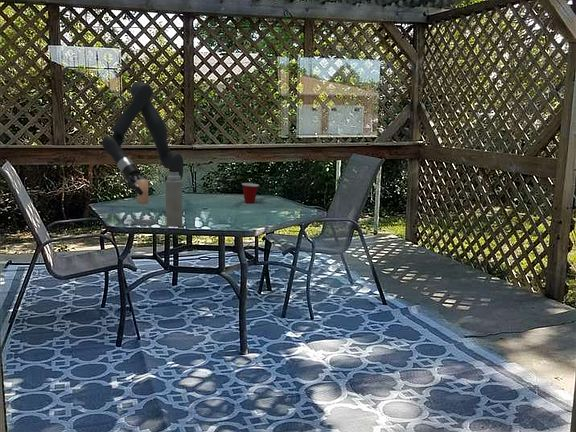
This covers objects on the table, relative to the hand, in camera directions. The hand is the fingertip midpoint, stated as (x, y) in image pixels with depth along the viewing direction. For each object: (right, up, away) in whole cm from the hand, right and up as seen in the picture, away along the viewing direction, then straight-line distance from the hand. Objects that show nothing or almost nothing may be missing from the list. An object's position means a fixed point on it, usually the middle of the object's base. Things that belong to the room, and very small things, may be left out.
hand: (145, 193), depth 310 cm
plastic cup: (+48, -3, +75) cm, 89 cm away
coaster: (-2, -15, +4) cm, 15 cm away
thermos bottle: (+14, -16, 0) cm, 22 cm away
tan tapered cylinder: (-2, -5, +2) cm, 6 cm away
